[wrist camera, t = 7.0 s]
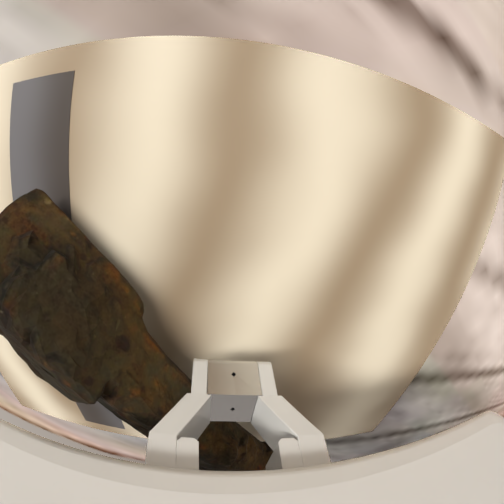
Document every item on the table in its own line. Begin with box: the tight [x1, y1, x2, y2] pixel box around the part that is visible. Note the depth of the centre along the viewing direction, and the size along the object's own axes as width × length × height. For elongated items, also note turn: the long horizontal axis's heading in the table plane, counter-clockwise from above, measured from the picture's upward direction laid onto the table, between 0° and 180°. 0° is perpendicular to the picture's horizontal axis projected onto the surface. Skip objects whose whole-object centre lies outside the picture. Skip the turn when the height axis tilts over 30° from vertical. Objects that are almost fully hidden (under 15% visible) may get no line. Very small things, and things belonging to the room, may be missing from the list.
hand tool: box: [0, 188, 273, 471], centre depth 10 cm, size 19×4×5 cm, turn 22°
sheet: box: [0, 36, 504, 442], centre depth 12 cm, size 28×22×1 cm
